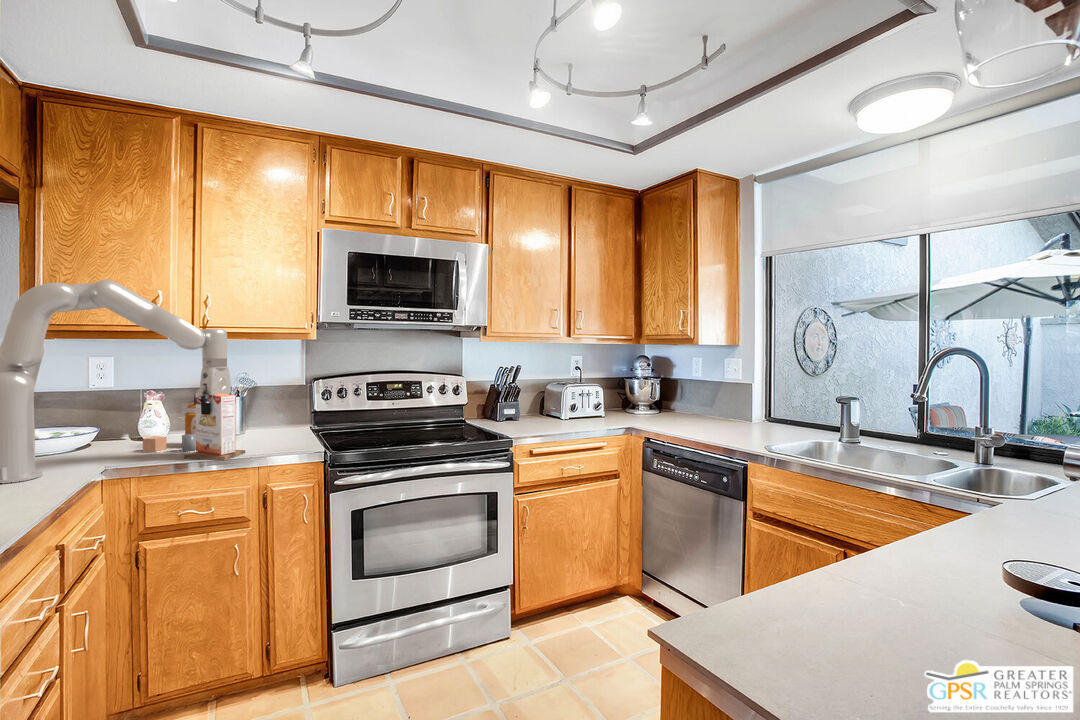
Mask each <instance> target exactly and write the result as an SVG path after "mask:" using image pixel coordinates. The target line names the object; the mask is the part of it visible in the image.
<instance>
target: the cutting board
mask: <svg viewBox="0 0 1080 720" xmlns="http://www.w3.org/2000/svg"><path fill="white" fill-rule="evenodd" d="M243 453H245V454H246V450H245V449H244V450H243V449H236V452H235V453H231V454H226V455H216V454H210V453H205V452H199V451H194V452H189V453H187V454H184V456H183V457H184V459H186V458H200V459H199V460H213V461H215V460H216V461H226V460H229V459H232V458H235V456H236V457H238V456H237V455H239V456H241V455H240V454H242V455H244V454H243Z"/></svg>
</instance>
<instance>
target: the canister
mask: <svg viewBox="0 0 1080 720" xmlns="http://www.w3.org/2000/svg"><path fill="white" fill-rule="evenodd" d="M186 405H187V406H186V413H185V414H184V435H185V434H196V394H194V397H193V400H192V401H189V402H186Z"/></svg>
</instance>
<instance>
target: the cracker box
mask: <svg viewBox="0 0 1080 720" xmlns="http://www.w3.org/2000/svg"><path fill="white" fill-rule="evenodd" d="M195 395H196V451H195V452H197V451H199V452H205V453H210V454H216V455H226V454H231V453H235V452H236V450H237V449H236V448H237V447H236V446H237V445H236V437H237V436H236V421H237V420H236V414H237V413H236V407H237V406H236V402H237V401H236V400H237V399H236V395H235V394H231V395H229V394H221V395H216V396H212V397H211V400H210V402H209V403H211V414H210V415H204V414H201V403H200V400H199V399H198V396H197V394H196V393H195ZM205 398H206V399H207V397H205Z"/></svg>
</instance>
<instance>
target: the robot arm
mask: <svg viewBox="0 0 1080 720" xmlns="http://www.w3.org/2000/svg"><path fill="white" fill-rule="evenodd" d="M104 308H105V309H107V310H109V311H111V312H113V313H115V314H116V315H118V316H120V317H121V318H124V319H125V320H128V321H130V323H133V324H134V325H136V326H138V327H140V328H142V329H146V330H149V331H152V332H155V333H157V334H159V335H161V336H163V337H165V338H167V339H169V340H171V341H172V342H173V343H175V344H176V345H177V346H178V347H180V348H181V349H184V350H189V351H193V350H198V349H202V350H201V352H202V353H201V354H202V355H201V356H202V357H201V358H202V365H201V366H202V368H201V374H200V379H199V380H200V383H199V386H200V387H199V388H198V389H197V390H196V392H195V395H196V394H197V396H198V399H199V400H200V403H201V414H204V415H210V414H211V403H209V402H210V400H211V397H212V396H216V395H221V394H229V395H232V392H233V387H232V385H231V384H232V383H231V376H230V370H229V367H228V332H227V330H225V329H223V328H206V329H200V328H198V327H197V326H194V324H191V323H189V322H187V321H186V320H184V319H183V318H180V317H179V316H177V315H175V314H173V313H171V312H169V311H168V310H165V309H164V308H163V307H161V306H159V305H157V304H156V303H154V302H152V301H150V300H148V299H147V298H145V297H143V296H141V295H139V294H137V293H136V292H134V291H133V290H131V289H129V288H127V287H126V286H125V285H122V284H121V283H118V282H116V281H115V280H111V279H101V280H99V281H97V282H89V283H88V282H87V283H75V284H67V283H66V282H65V283H64V282H48V283H44V284H40V285H36V286H33V287H31V288H29V289H28V290H26V291H25V292H24V293H22V294H21V295H20V296H19V298H18V299H17V301H16V302H15V304H14V305H13V308H12V310H11V314H10V317H9V320H8V323H7V325H6V329H5V333H4V336H3V339H2V342H1V343H0V483H2V484H11V482H12V483H17V482H19V481H20V482H25V481H30V480H33V479H37V478H40V477H41V476H43V470H39V469H36V439H35V437H36V436H35V435H36V434H35V431H36V429H35V426H36V425H35V398H34V397H35V387H36V383H37V378H38V375H39V373H40V372H39V371H40V369H41V364H42V362H43V357H44V353H45V348H44V343H45V339H46V335H47V331H48V329H49V325H50V321H51V318H52V317H53V315H54V314H56V312H57V313H66V312H77V311H89V310H98V309H104ZM205 397H207V399H206V398H205ZM20 482H19V483H20Z"/></svg>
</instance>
